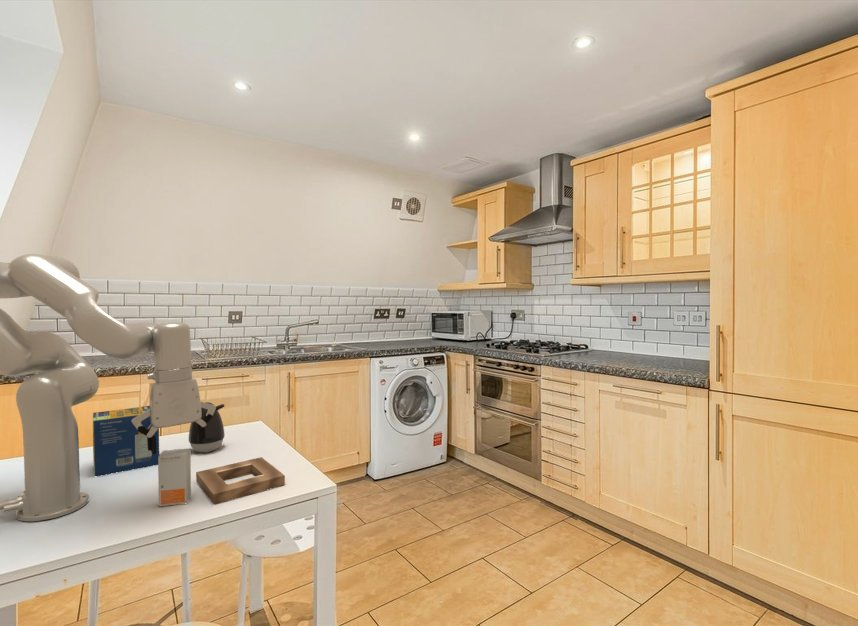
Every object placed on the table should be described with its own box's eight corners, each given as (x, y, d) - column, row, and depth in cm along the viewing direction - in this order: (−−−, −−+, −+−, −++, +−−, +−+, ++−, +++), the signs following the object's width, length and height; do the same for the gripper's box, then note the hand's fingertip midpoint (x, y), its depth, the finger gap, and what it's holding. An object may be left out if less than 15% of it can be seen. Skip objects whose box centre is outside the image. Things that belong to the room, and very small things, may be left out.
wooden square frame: (213, 504, 103) (213, 493, 103) (196, 481, 116) (196, 471, 116) (284, 484, 114) (284, 475, 114) (261, 465, 127) (261, 456, 127)
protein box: (94, 465, 127) (92, 412, 126) (156, 454, 136) (155, 404, 135) (93, 477, 118) (92, 420, 118) (160, 464, 128) (159, 411, 127)
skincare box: (158, 507, 101) (157, 456, 101) (163, 499, 105) (162, 450, 105) (187, 504, 103) (186, 453, 103) (191, 496, 107) (190, 447, 107)
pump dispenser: (221, 454, 136) (220, 405, 136) (184, 456, 134) (183, 407, 133) (228, 443, 146) (227, 397, 146) (194, 445, 144) (193, 399, 143)
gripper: (131, 383, 95) (135, 461, 95) (217, 372, 106) (221, 442, 107) (127, 378, 101) (131, 452, 101) (209, 369, 112) (212, 435, 112)
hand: (177, 447), depth 104 cm, fingers open, 9 cm apart
